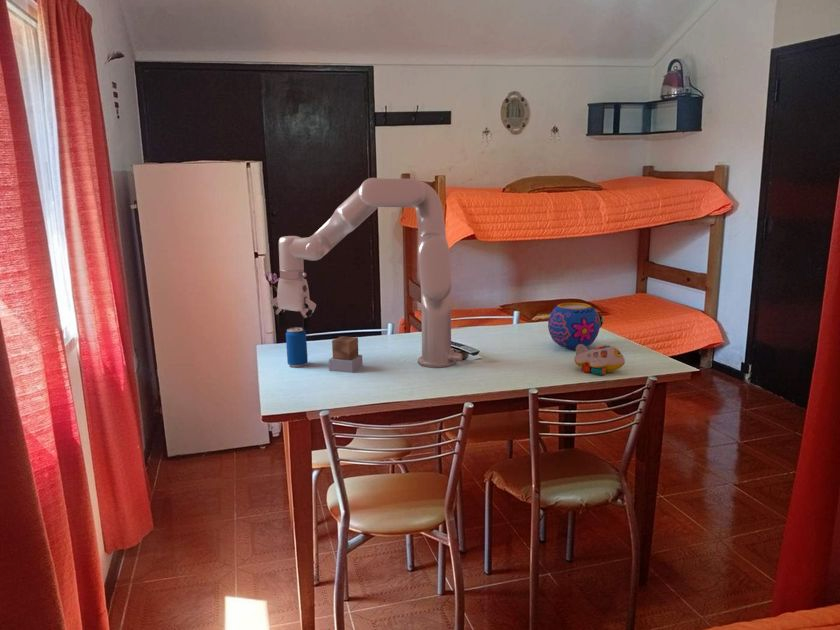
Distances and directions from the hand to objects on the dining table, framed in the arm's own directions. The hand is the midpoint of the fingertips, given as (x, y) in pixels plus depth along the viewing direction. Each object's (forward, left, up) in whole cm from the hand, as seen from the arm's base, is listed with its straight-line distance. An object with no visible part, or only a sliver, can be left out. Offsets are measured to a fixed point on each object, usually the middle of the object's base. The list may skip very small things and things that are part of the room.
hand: (293, 327), depth 217 cm
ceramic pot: (-77, -56, -13) cm, 97 cm away
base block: (-17, -3, -13) cm, 22 cm away
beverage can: (0, 0, -13) cm, 13 cm away
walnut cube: (-17, -3, -9) cm, 20 cm away
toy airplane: (-92, -31, -13) cm, 98 cm away
